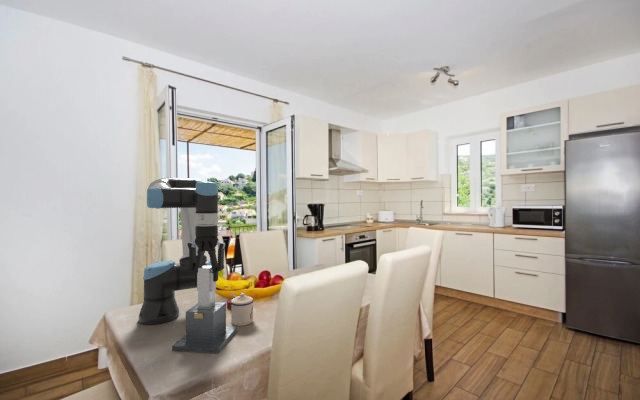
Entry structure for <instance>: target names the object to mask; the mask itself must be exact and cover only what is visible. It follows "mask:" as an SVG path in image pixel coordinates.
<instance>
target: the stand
mask: <svg viewBox="0 0 640 400" xmlns="http://www.w3.org/2000/svg"><path fill="white" fill-rule="evenodd" d="M237 330H238V327H236V326H227V302H222V301H221V302H219V301H217V302H216V301H215V306H214V307H213V308H212V309H211V310H200V309H198V303H196V304H195V305H193V306H192V307H191V308H189V309H188V310H186V311H185V335H183V336H182V337H181V338H179V340H178V341H176V342H175V343H173V345H171V351H172V352H173V351H174V352H189V353H206V354H219V353H220V352H221V351H222V349H223V348H224V347H225V346H226V345H227V343H229V342H230V340H231V339H232V338H233V337H234V336H235V334H236V333H237V332H238V331H237Z"/></svg>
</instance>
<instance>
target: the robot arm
mask: <svg viewBox="0 0 640 400" xmlns="http://www.w3.org/2000/svg"><path fill="white" fill-rule="evenodd" d="M218 206H219V187H218V183H216V182H213V181H203V180H202V179H200V178H193V177H191V178H190V177H189V178H183V177H164V178H158V179H156V180H154V181H152V182H150V183H149V185H148V187H147V189H146V207H147V208H148V209H157V210H160V209H180V223H181V242H182V244H181V246H182V256H181V257H180V258H179V262H178V263H176V262H175V260H171V259H169V260H162V261H158V262H154V263H151V264H149V265H146V267H144V270H143V277H142V279H143V302H142V306H141V308H140V312H139V314H138V323H139V324H141V325H159V324H163V323H164V324H165V323H167V322H170V321H173V320H175V319H177V318H178V317H179V315H180V308H179V305H178V303H177V301H176V298H175V297H176V295H175V293H176V292H177V291H178V292H179V291H184V290H190V289H196V291H197V292H198V268H199V267H202V266H204V265H211V266H212V271H213V272H212V273H211V292H213V291H214V290H215V291H216V289H217V282H218V280H219V272H220V271H223V270H224V269H225V263H224V262H225V249H226V242H222V241H220V240H219V237H218V234H219V226H218V224H219V211H218V210H219V207H218ZM216 247H217V248H218V249H217V250H216ZM206 252H207V254H208V256H209V259H210V260H209V259H208V256H207V255H206V254H205V253H206ZM216 252H217V254H216Z"/></svg>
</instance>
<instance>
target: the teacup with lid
mask: <svg viewBox="0 0 640 400" xmlns="http://www.w3.org/2000/svg"><path fill="white" fill-rule="evenodd" d="M230 310H231V311H230V312H231V315H230V316H231V318H230V320H231V324H232V325H233V326H235V327H236V326H238V327H242V326H248V325H249V324H252V322H253V321H254V298H253V297H252V296H248V295H246V294H245V293H244V292H241V294H240V296H238V297H236V298H233V299H232V300H231V309H230Z"/></svg>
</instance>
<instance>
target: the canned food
mask: <svg viewBox="0 0 640 400" xmlns="http://www.w3.org/2000/svg"><path fill="white" fill-rule="evenodd" d="M230 295H231V296H232V297H235V298H236V297H238V296H236V295H234V294H232V293H230ZM230 298H231V297H230ZM230 298H228V299H227V300H226V309H228V308H229V309H228V310H231V300H232V299H230Z"/></svg>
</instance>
